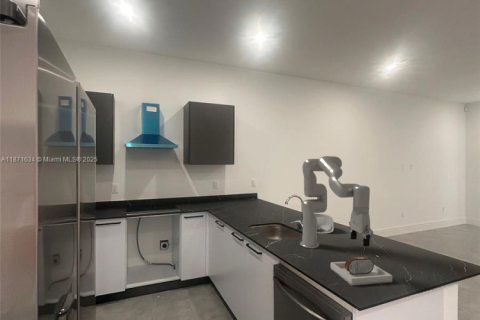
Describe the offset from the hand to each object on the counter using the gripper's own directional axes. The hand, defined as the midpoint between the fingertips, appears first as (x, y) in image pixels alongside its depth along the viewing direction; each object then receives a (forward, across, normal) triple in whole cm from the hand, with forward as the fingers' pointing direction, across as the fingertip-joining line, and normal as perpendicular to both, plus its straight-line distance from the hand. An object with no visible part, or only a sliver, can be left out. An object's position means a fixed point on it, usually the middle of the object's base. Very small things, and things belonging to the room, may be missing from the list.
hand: (359, 242), depth 125 cm
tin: (+16, +1, 0) cm, 16 cm away
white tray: (+17, +1, 0) cm, 17 cm away
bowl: (+18, -77, +19) cm, 81 cm away
